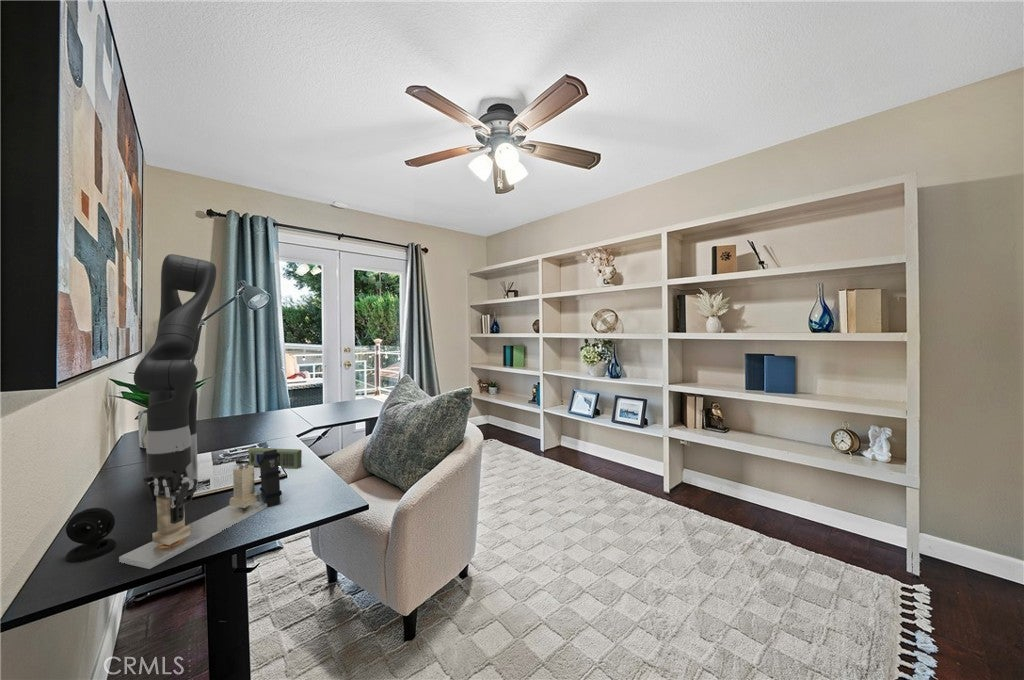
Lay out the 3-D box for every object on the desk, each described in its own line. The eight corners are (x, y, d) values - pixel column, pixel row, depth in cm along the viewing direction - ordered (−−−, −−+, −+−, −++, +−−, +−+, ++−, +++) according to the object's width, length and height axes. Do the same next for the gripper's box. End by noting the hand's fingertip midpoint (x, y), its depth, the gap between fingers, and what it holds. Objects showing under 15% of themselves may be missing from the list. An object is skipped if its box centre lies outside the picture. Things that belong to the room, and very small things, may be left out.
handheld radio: (296, 470, 134) (232, 467, 137) (302, 467, 138) (239, 464, 140) (297, 451, 134) (232, 448, 137) (303, 448, 138) (240, 446, 140)
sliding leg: (152, 544, 85) (151, 494, 85) (174, 533, 89) (173, 486, 89) (169, 547, 84) (167, 496, 84) (190, 536, 88) (189, 488, 88)
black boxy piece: (268, 505, 103) (263, 451, 108) (261, 510, 112) (256, 460, 117) (284, 501, 106) (278, 448, 110) (276, 506, 115) (271, 457, 119)
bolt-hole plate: (119, 562, 81) (117, 502, 81) (242, 503, 108) (241, 458, 108) (149, 569, 79) (147, 508, 78) (267, 507, 106) (266, 461, 105)
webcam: (55, 566, 80) (54, 520, 79) (79, 547, 86) (77, 504, 86) (105, 557, 83) (103, 512, 82) (124, 539, 90) (122, 498, 89)
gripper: (127, 449, 84) (129, 525, 85) (173, 455, 81) (175, 533, 81) (165, 439, 91) (167, 509, 92) (209, 444, 88) (211, 517, 88)
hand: (171, 520), depth 87 cm, fingers closed on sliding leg, 3 cm apart
